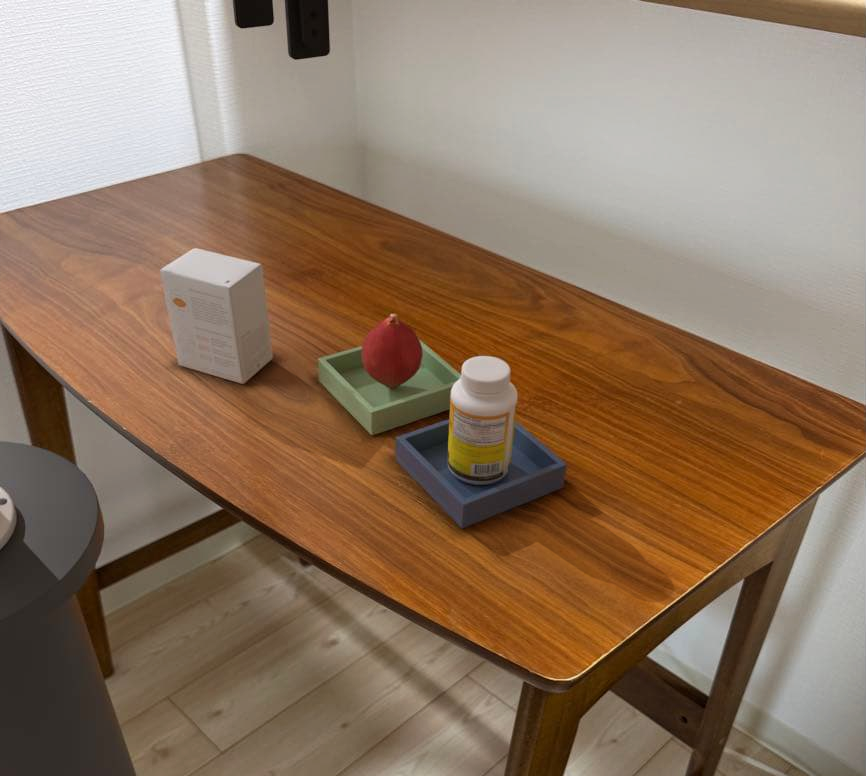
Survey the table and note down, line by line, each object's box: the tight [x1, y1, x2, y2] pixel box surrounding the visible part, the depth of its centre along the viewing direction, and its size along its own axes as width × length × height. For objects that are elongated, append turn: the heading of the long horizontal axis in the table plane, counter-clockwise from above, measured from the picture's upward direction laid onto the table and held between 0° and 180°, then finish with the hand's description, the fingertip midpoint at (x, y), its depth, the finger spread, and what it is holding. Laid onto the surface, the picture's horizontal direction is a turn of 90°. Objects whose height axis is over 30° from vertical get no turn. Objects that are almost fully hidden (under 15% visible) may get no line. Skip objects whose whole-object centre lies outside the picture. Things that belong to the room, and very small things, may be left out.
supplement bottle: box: [448, 355, 519, 485], centre depth 76 cm, size 6×6×10 cm
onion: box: [361, 313, 423, 389], centre depth 86 cm, size 6×6×8 cm
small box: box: [159, 247, 274, 385], centre depth 88 cm, size 8×6×10 cm
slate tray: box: [395, 418, 568, 529], centre depth 79 cm, size 11×11×3 cm
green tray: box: [317, 339, 461, 436], centre depth 88 cm, size 11×11×3 cm
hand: (281, 40), depth 70 cm, fingers open, 9 cm apart
